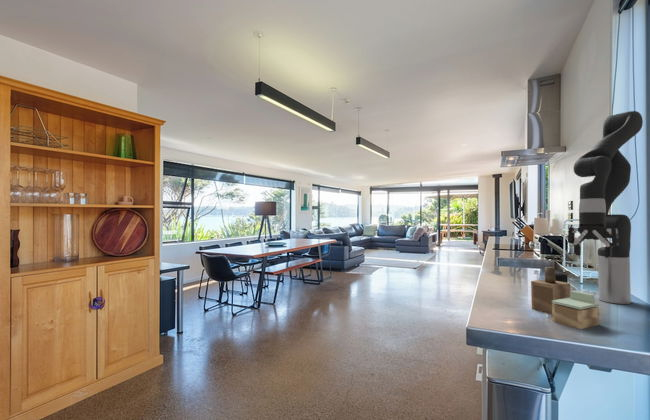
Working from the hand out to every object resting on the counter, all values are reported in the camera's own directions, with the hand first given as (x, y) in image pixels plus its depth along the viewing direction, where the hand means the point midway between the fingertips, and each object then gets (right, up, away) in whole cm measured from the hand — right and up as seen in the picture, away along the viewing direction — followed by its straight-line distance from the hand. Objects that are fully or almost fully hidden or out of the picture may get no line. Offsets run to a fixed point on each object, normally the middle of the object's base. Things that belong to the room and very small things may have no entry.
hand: (592, 256), depth 117 cm
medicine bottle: (-10, -19, +4) cm, 21 cm away
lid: (-20, -12, -18) cm, 30 cm away
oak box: (-20, -18, -18) cm, 33 cm away
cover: (-19, -19, -6) cm, 27 cm away
